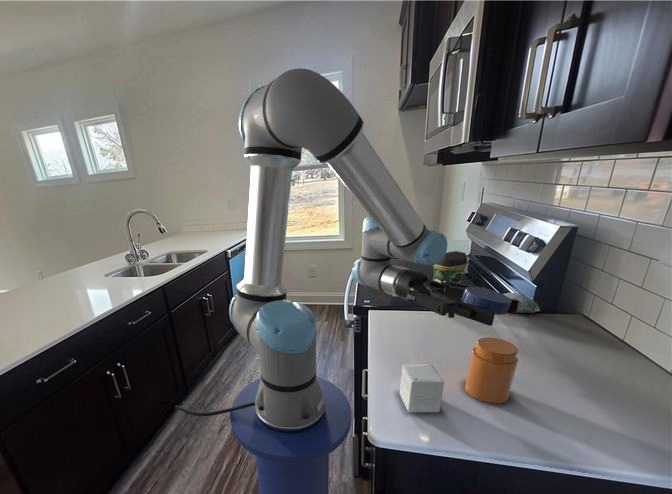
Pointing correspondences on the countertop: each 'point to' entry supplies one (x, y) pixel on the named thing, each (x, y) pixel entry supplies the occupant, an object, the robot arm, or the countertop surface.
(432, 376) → the product box
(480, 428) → the countertop surface
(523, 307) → the packaged food
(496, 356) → the jam jar
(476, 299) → the lid
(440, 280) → the coffee jar
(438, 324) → the countertop surface
